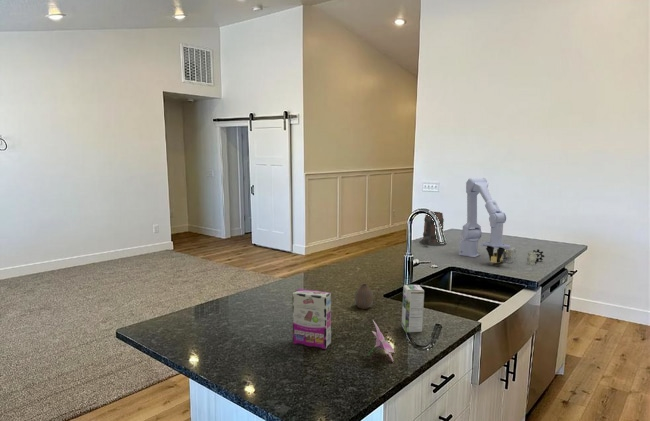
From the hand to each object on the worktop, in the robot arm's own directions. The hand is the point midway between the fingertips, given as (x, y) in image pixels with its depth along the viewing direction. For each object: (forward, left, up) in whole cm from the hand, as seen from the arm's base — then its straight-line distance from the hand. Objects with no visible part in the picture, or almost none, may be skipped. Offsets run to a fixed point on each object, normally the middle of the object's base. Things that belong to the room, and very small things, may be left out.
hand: (494, 261), depth 223 cm
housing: (0, +14, -2) cm, 14 cm away
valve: (+14, +19, -3) cm, 24 cm away
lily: (+10, -122, -2) cm, 123 cm away
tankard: (-48, +25, -2) cm, 54 cm away
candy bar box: (-11, -129, -2) cm, 130 cm away
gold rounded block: (0, +4, -2) cm, 4 cm away
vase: (-17, -93, -2) cm, 95 cm away
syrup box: (+7, -99, -2) cm, 99 cm away
